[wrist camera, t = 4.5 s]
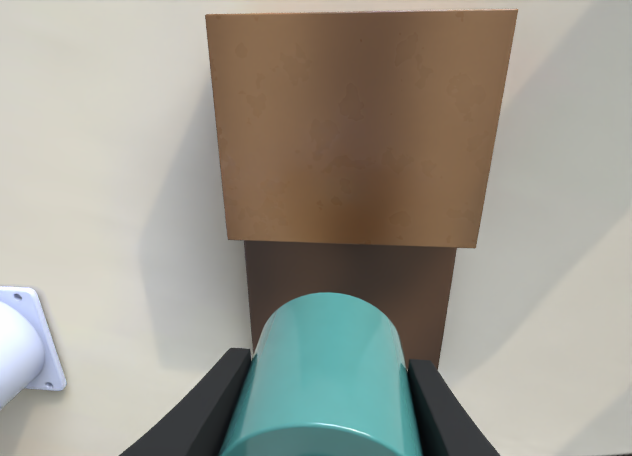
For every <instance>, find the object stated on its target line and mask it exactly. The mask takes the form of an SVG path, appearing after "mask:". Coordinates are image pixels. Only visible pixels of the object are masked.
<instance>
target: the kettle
mask: <svg viewBox="0 0 632 456" xmlns="http://www.w3.org/2000/svg"><path fill="white" fill-rule="evenodd" d="M218 456H424V454H423V449H422V444H421V439H420V434H419V429H418V424H417V419H416V414H415V409H414V403H413V398H412V393H411V388H410V383H409V378H408V373H407V368H406V363H405V358H404V353H403V347H402V343H401V340H400V336H399V334H398V332H397V330H396V328H395V327H394V325H393V324H392V322H391V321H390V320H389V319H388V318H387V316H386V315H385V314H384V313H382V312H381V311H380V310H379V309H378V308H376V307H375V306H373V305H371V304H370V303H368V302H366V301H364V300H362V299H360V298H357V297H354V296H351V295H346V294H342V293H333V292H320V293H312V294H308V295H304V296H301V297H298V298H295V299H293V300H291V301H289V302H287V303H285V304H284V305H283V306H281V307H280V308H278V309H277V310H276V311H275V312H274V313H273V314H272V315H271V317H270V318H269V319H268V320H267V322H266V324H265V326H264V328H263V330H262V333H261V336H260V339H259V342H258V344H257V347H256V350H255V353H254V356H253V358H252V361H251V364H250V367H249V370H248V372H247V375H246V378H245V381H244V384H243V387H242V389H241V392H240V395H239V398H238V401H237V403H236V406H235V409H234V412H233V415H232V418H231V420H230V423H229V426H228V429H227V432H226V434H225V437H224V440H223V443H222V446H221V449H220V451H219V454H218Z"/></svg>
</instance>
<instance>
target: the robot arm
mask: <svg viewBox="0 0 632 456" xmlns="http://www.w3.org/2000/svg"><path fill="white" fill-rule="evenodd" d="M250 364H251V353H250V349H243V348H230V349H229V350H228V351H227V352H226V353H225V354H224V355H223V356H222V358H221V359H220V360H219V361H218V362H217V363H216V364H215V365H214V366H213V368H212V369H211V370H210V371H209V372H208V373H207V374H206V375H205V376H204V377H203V378H202V379H201V381H200V382H199V383H198V384H197V385H196V386H195V387H194V388H193V389H192V390H191V391H190V392H189V393H188V394H187V395H186V396H185V397H184V398H183V399H182V400H181V401H180V402H179V403H178V404H177V405H176V406H175V407H174V408H173V409H172V410H171V411H170V412H169V413H167V414H166V415H165V416H164V417H163V418H162V419H161V420H160V421H159V422H158V423H157V424H156V425H155V426H154V427H152V428H151V429H150V430H149V431H148V432H147V433H146V434H144V435H143V436H142V437H141V438H140V439H139V440H137V441H136V442H135V443H134V444H133V445H131V446H130V447H129V448H128V449H126V450H125V451H124V452H123V453H122V454H120V455H119V456H218V454H219V451H220V449H221V446H222V443H223V440H224V437H225V434H226V432H227V429H228V426H229V423H230V420H231V418H232V415H233V412H234V409H235V406H236V403H237V401H238V398H239V395H240V392H241V389H242V387H243V384H244V381H245V378H246V375H247V372H248V370H249V367H250ZM408 378H409V383H410V388H411V393H412V398H413V403H414V409H415V414H416V419H417V424H418V429H419V434H420V439H421V444H422V449H423V454H424V456H500V455H499V453H498V452H497V451H496V450H495V448H494V447H493V446H492V445H491V444H490V442H489V441H488V440H487V439H486V437H485V436H484V435H483V434H482V432H481V431H480V430H479V428H478V427H477V426H476V425H475V423H474V422H473V421H472V419H471V418H470V417H469V415H468V414H467V412H466V411H465V410H464V408H463V407H462V406H461V404H460V403H459V401H458V400H457V399H456V397H455V396H454V394H453V393H452V391H451V390H450V388H449V387H448V386H447V384H446V383H445V381H444V379H443V378H442V376H441V375H440V373H439V372H438V370H437V369H436V367H435V365H434V364H433V363H432V362H431V361H430V360H418V359H409V366H408ZM66 385H67V382H66V379H65V376H64V373H63V370H62V367H61V364H60V361H59V358H58V355H57V352H56V349H55V346H54V343H53V340H52V337H51V334H50V331H49V328H48V325H47V322H46V319H45V316H44V313H43V310H42V307H41V304H40V301H39V298H38V295H37V293H36V292H35V291H34V290H33V289H31V288H23V287H2V286H0V410H1V409H2V408H3V407H4V406H5V405H6V404H7V403H8V402H9V401H11V400H12V399H13V398H14V397H15V396H16V395H17V394H18V393H19V392H20V391H21V390H22V389H23V388H27V389H41V390H55V391H61V390H63V389H64V388H65V387H66Z"/></svg>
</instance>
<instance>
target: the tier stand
mask: <svg viewBox="0 0 632 456" xmlns="http://www.w3.org/2000/svg"><path fill="white" fill-rule="evenodd" d="M517 13H518V9H474V10H418V11H362V12H307V13H251V14H206V15H205V19H206V29H207V39H208V49H209V59H210V69H211V79H212V88H213V98H214V108H215V118H216V128H217V138H218V148H219V158H220V168H221V178H222V188H223V198H224V208H225V218H226V228H227V237H228V240H244V247H245V259H246V271H247V283H248V295H249V307H250V319H251V332H252V344H253V356H254V353H255V350H256V347H257V344H258V342H259V339H260V336H261V333H262V330H263V328H264V326H265V324H266V322H267V320H268V319H269V318H270V317H271V315H272V314H273V313H274V312H275V311H276V310H277V309H278V308H280V307H281V306H283V305H284V304H285V303H287V302H289V301H291V300H293V299H295V298H298V297H301V296H304V295H308V294H312V293H320V292H333V293H342V294H346V295H351V296H354V297H357V298H360V299H362V300H364V301H366V302H368V303H370V304H371V305H373V306H375V307H376V308H378V309H379V310H380V311H381V312H382V313H384V314H385V315H386V316H387V318H388V319H389V320H390V321H391V322H392V324H393V325H394V327H395V328H396V330H397V332H398V334H399V336H400V340H401V343H402V347H403V353H404V358H405V363H406V368H408V366H409V359H418V360H430V361H431V362H432V363H433V364H434V365H435V367H436V369H437V370H438V365H439V358H440V352H441V345H442V339H443V333H444V326H445V320H446V314H447V307H448V301H449V294H450V288H451V282H452V275H453V269H454V263H455V256H456V250H457V248H476V244H477V238H478V232H479V227H480V221H481V216H482V210H483V204H484V199H485V193H486V188H487V182H488V176H489V171H490V165H491V159H492V154H493V148H494V143H495V137H496V131H497V126H498V120H499V115H500V109H501V103H502V98H503V92H504V86H505V81H506V75H507V70H508V64H509V58H510V53H511V47H512V42H513V36H514V30H515V25H516V19H517Z"/></svg>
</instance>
